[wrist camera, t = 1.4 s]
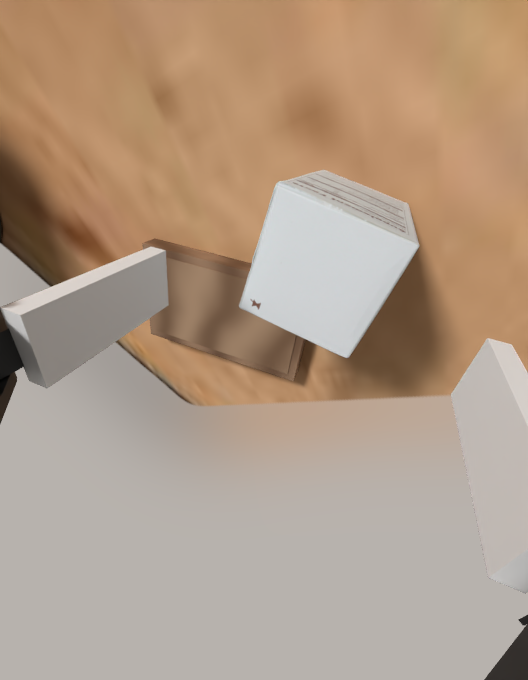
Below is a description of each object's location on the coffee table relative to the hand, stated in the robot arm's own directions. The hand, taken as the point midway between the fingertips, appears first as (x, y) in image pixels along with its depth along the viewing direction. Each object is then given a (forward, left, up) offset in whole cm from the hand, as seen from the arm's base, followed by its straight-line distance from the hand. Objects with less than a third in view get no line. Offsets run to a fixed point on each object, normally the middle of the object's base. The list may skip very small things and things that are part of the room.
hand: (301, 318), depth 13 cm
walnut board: (-10, -10, -16) cm, 22 cm away
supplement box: (0, 0, -17) cm, 17 cm away
